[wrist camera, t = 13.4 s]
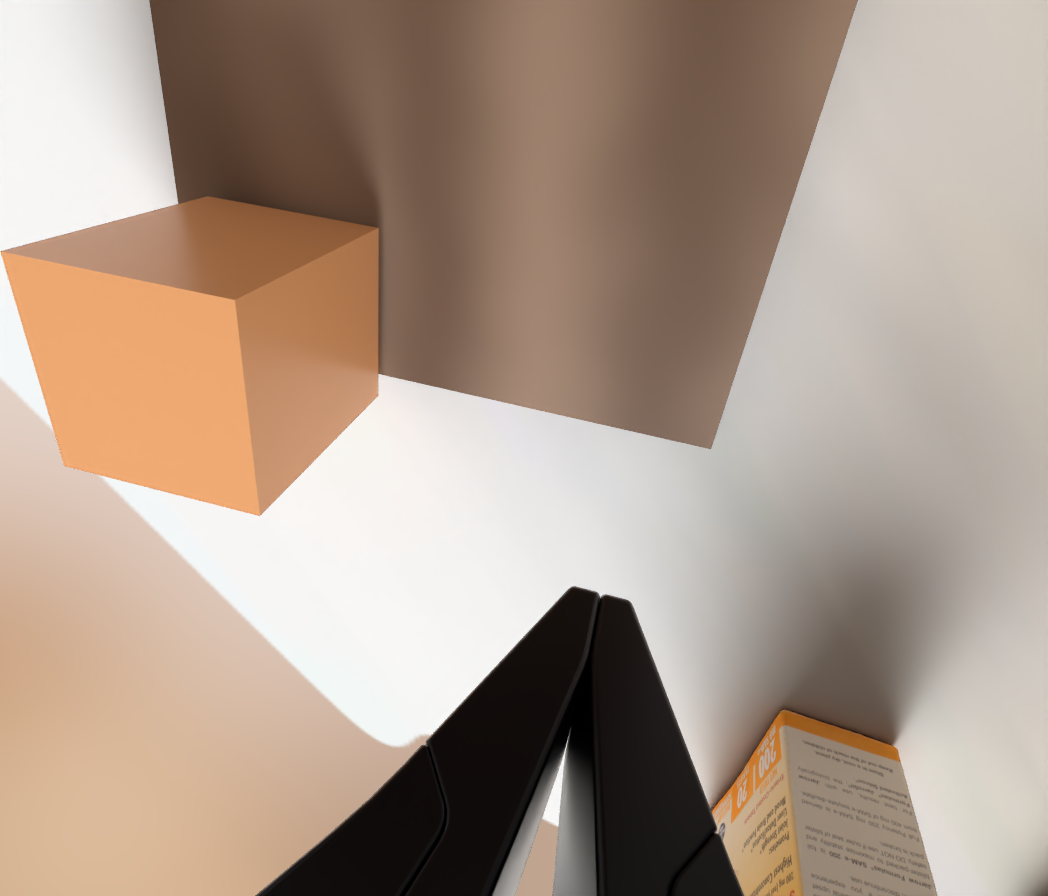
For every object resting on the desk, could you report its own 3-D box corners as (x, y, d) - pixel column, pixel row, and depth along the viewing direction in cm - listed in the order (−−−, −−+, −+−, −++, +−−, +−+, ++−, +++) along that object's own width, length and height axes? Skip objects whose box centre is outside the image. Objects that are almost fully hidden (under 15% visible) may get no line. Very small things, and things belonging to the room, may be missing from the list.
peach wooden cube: (378, 228, 18) (235, 299, 13) (378, 395, 21) (259, 515, 15) (207, 196, 19) (0, 251, 13) (229, 362, 22) (64, 465, 16)
